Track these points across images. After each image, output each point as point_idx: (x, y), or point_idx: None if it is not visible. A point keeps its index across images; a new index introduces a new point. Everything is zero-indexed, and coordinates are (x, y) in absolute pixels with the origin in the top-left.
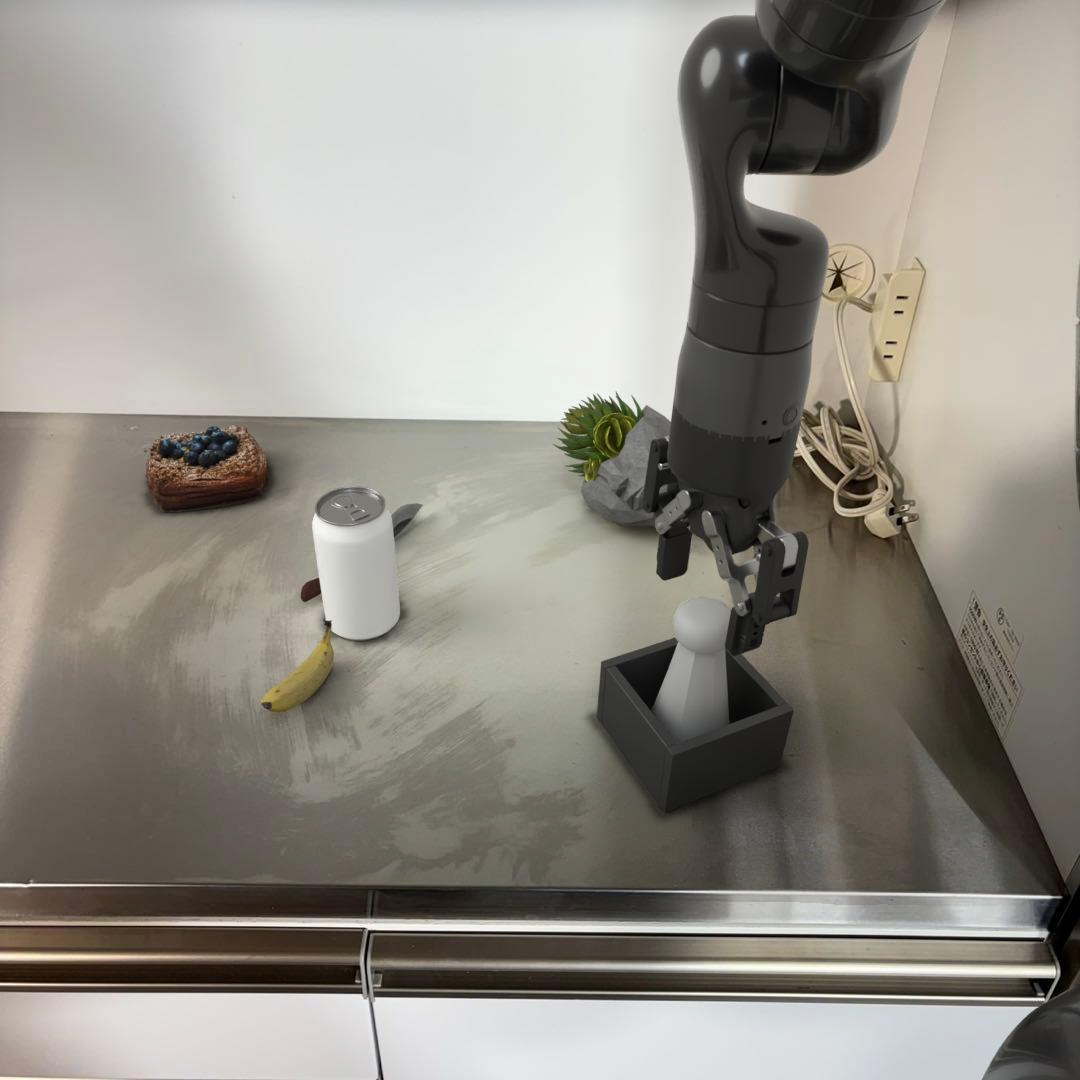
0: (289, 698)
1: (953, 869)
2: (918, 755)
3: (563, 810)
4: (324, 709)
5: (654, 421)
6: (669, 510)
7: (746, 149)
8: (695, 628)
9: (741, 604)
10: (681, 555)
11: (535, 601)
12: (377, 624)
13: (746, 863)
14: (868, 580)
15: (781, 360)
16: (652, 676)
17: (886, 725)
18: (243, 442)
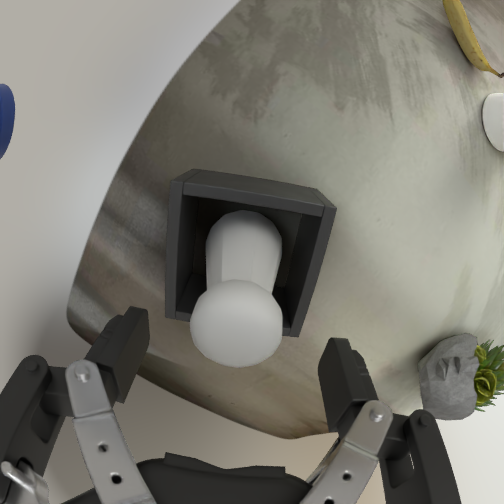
0: (449, 2)
1: (81, 298)
2: (152, 349)
3: (245, 96)
4: (440, 34)
5: (464, 416)
6: (354, 478)
7: None
8: (215, 308)
9: (75, 378)
10: (328, 388)
11: (445, 241)
12: (490, 113)
13: (125, 194)
14: (286, 419)
15: None
16: (303, 252)
17: (180, 355)
18: None
